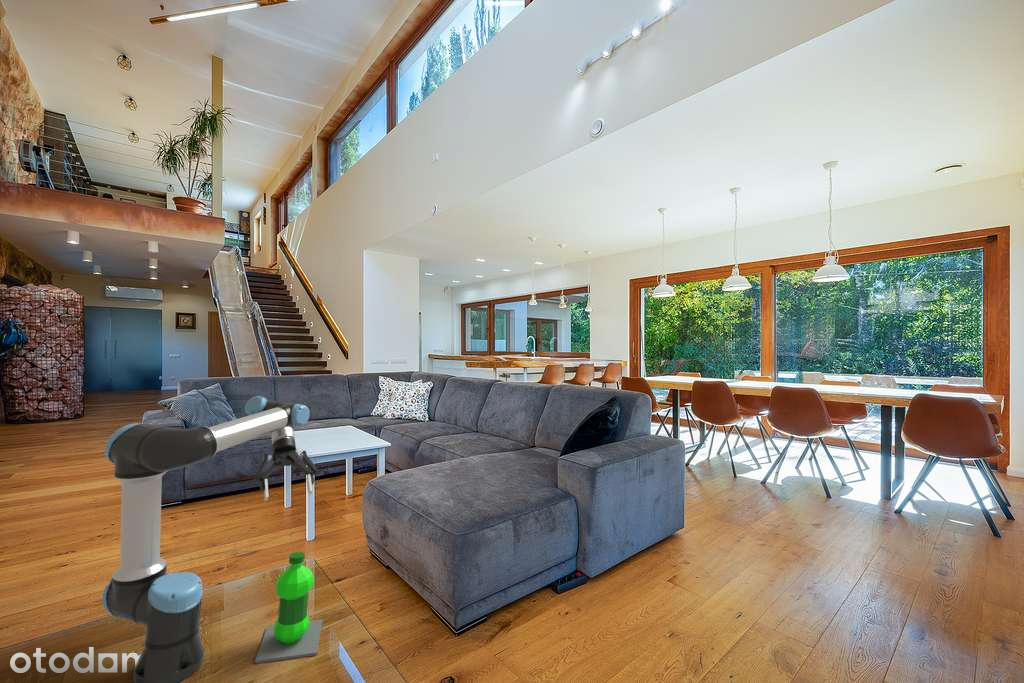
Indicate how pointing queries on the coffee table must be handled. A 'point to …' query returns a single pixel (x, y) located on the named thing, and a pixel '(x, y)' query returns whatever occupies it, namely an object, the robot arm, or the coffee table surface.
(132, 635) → the coffee table surface
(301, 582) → the plastic bottle
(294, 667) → the coffee table surface
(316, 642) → the rubber coaster
